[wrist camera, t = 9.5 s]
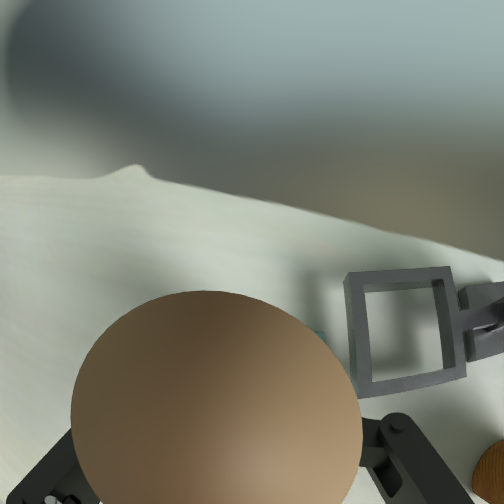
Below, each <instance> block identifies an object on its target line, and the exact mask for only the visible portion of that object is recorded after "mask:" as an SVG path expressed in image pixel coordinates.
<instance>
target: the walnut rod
mask: <svg viewBox="0 0 504 504" xmlns="http://www.w3.org/2000/svg"><path fill="white" fill-rule="evenodd" d="M71 431H72V438H73V443H74V448H75V451H76V455H77V458H78V461H79V464H80V466H81V468H82V471H83V473H84V475H85V477H86V479H87V481H88V483H89V484H90V486H91V487H92V489H93V491H94V492H95V494H96V495H97V497H98V498H99V499H100V500H101V502H102V503H103V504H341V503H342V502H343V500H344V499H345V497H346V495H347V494H348V492H349V490H350V488H351V486H352V483H353V481H354V479H355V476H356V474H357V470H358V466H359V462H360V458H361V452H362V441H363V430H362V417H361V412H360V408H359V404H358V399H357V396H356V394H355V391H354V389H353V386H352V383H351V381H350V379H349V377H348V375H347V373H346V372H345V370H344V368H343V366H342V365H341V363H340V361H339V360H338V359H337V357H336V356H335V355H334V353H333V352H332V351H331V350H330V348H329V347H328V346H327V345H326V344H325V343H324V342H323V341H322V340H321V339H320V338H319V337H318V336H317V335H316V334H315V333H314V332H313V331H312V330H311V329H309V328H308V327H307V326H306V325H304V324H303V323H302V322H300V321H299V320H298V319H296V318H295V317H293V316H291V315H289V314H288V313H286V312H284V311H283V310H281V309H279V308H277V307H275V306H272V305H270V304H268V303H266V302H263V301H261V300H258V299H254V298H251V297H248V296H244V295H240V294H234V293H228V292H223V291H190V292H181V293H176V294H171V295H166V296H163V297H160V298H157V299H154V300H151V301H149V302H147V303H145V304H143V305H141V306H138V307H136V308H134V309H133V310H131V311H130V312H128V313H127V314H125V315H124V316H122V317H121V318H119V319H118V320H117V321H116V322H114V323H113V324H112V325H111V326H110V327H109V328H108V329H107V330H106V331H105V332H104V333H103V334H102V335H101V336H100V337H99V339H98V340H97V341H96V342H95V344H94V345H93V347H92V348H91V350H90V351H89V353H88V354H87V356H86V358H85V360H84V362H83V364H82V366H81V368H80V370H79V373H78V376H77V379H76V382H75V386H74V390H73V396H72V402H71Z"/></svg>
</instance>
